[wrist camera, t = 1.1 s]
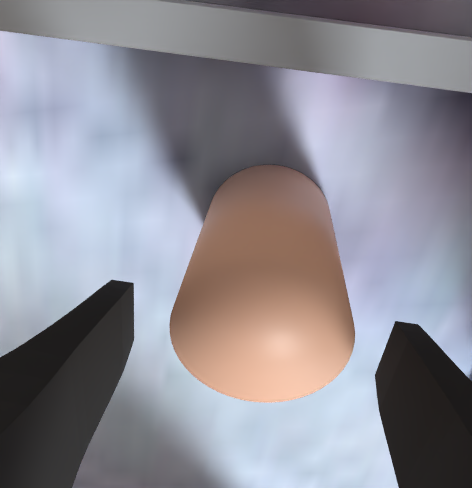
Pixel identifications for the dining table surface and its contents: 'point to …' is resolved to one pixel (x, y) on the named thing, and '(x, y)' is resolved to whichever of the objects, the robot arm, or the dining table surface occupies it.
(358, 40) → the grey long flat bar
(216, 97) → the dining table surface
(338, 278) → the terracotta cylinder
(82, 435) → the robot arm
